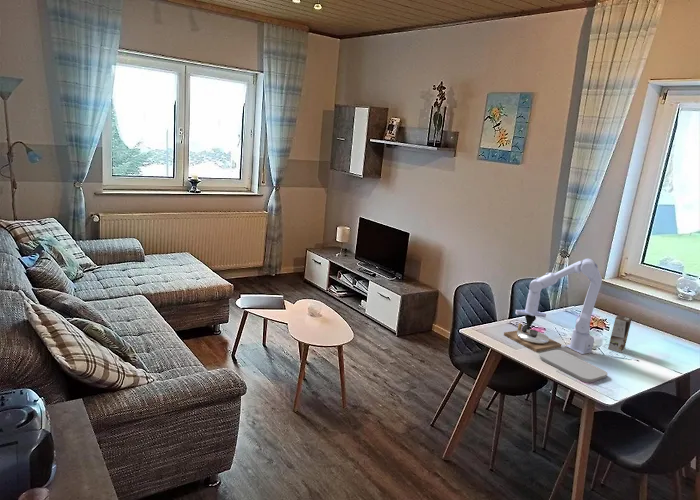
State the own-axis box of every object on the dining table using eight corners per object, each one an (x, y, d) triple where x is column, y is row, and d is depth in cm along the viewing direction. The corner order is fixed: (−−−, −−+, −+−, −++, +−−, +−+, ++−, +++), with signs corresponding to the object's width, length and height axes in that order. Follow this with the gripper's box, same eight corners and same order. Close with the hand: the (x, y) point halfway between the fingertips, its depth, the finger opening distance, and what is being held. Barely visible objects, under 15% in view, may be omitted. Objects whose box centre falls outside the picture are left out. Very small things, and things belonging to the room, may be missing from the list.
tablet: (557, 353, 238) (558, 348, 237) (609, 378, 217) (610, 373, 216) (535, 358, 229) (536, 353, 229) (586, 385, 208) (587, 380, 208)
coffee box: (621, 353, 245) (629, 322, 241) (607, 348, 249) (614, 318, 245) (625, 348, 252) (632, 317, 248) (611, 343, 256) (618, 314, 252)
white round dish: (541, 333, 255) (543, 325, 254) (553, 345, 241) (555, 336, 240) (512, 330, 255) (514, 322, 254) (522, 342, 240) (524, 334, 239)
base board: (560, 347, 244) (563, 336, 243) (535, 351, 236) (537, 341, 234) (528, 331, 261) (530, 321, 260) (503, 335, 252) (505, 324, 251)
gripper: (520, 304, 246) (515, 330, 249) (550, 307, 246) (545, 333, 249) (516, 300, 253) (511, 325, 256) (545, 302, 253) (540, 328, 256)
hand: (527, 329), depth 253 cm, fingers closed
